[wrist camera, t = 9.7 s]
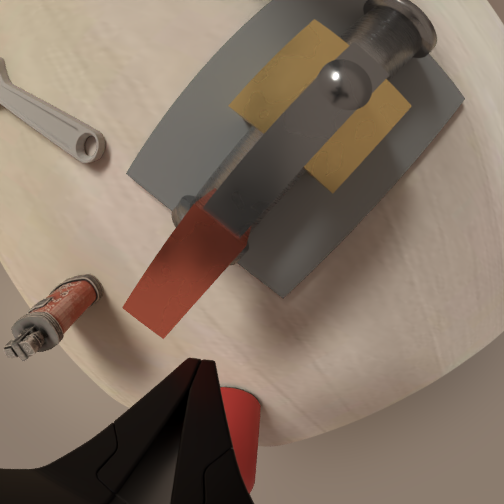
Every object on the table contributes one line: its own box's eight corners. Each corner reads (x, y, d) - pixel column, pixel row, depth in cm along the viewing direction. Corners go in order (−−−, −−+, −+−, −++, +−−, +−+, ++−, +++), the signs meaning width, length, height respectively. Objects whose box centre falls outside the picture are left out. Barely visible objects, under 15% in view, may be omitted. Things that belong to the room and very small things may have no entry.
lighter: (91, 267, 22) (21, 329, 13) (109, 298, 23) (49, 368, 14) (48, 288, 24) (-10, 339, 14) (64, 314, 25) (12, 370, 15)
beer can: (190, 397, 27) (163, 488, 16) (228, 375, 25) (207, 483, 14) (233, 423, 29) (220, 508, 18) (273, 404, 27) (269, 502, 16)
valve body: (358, 7, 12) (388, -35, 6) (419, 61, 14) (468, 40, 8) (181, 197, 19) (141, 223, 13) (246, 249, 20) (234, 296, 14)
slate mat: (317, -31, 11) (318, -34, 11) (460, 99, 14) (465, 98, 14) (129, 172, 19) (126, 173, 18) (283, 294, 21) (283, 298, 21)
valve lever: (328, 61, 9) (348, 34, 6) (366, 94, 10) (398, 80, 7) (151, 273, 14) (122, 307, 11) (184, 298, 14) (163, 338, 11)
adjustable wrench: (115, 137, 18) (103, 137, 17) (83, 202, 20) (71, 207, 19) (-2, 53, 14) (-12, 52, 12) (-21, 100, 16) (-31, 100, 14)
